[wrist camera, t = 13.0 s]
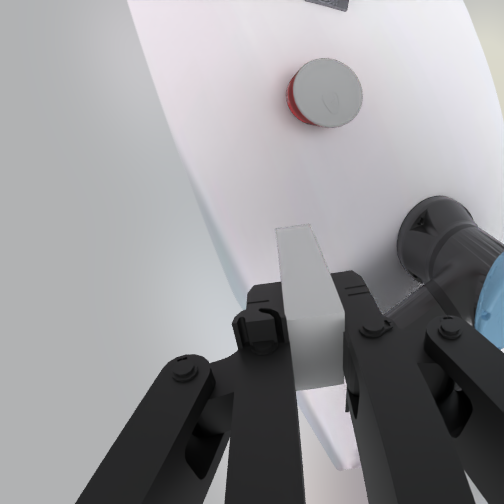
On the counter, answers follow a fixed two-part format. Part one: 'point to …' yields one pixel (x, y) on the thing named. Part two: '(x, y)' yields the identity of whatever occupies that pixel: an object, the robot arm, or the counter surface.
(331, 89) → the canned food
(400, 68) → the counter surface
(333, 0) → the gate post
